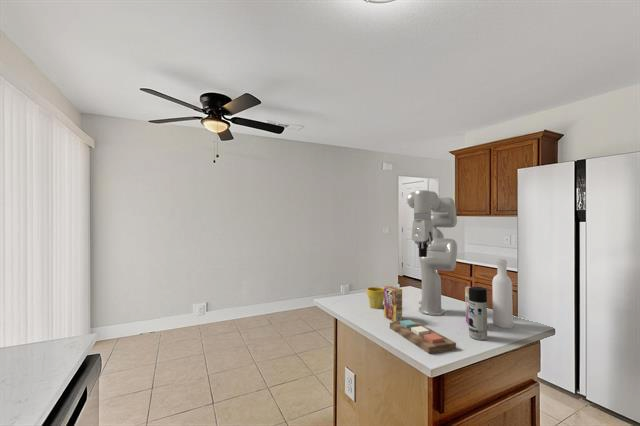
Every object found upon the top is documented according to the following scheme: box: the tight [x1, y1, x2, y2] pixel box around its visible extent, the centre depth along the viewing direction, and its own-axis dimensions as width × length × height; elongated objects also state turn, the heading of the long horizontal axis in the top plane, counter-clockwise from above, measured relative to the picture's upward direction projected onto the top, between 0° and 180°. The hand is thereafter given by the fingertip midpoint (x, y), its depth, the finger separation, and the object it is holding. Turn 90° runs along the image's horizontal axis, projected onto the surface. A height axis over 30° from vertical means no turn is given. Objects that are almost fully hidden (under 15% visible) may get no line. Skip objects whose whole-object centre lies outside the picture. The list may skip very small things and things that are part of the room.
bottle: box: [491, 258, 514, 329], centre depth 133 cm, size 8×8×30 cm
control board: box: [389, 319, 457, 355], centre depth 118 cm, size 26×12×2 cm, turn 18°
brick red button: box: [424, 333, 444, 344], centre depth 111 cm, size 5×5×3 cm
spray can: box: [468, 286, 488, 341], centre depth 119 cm, size 7×7×20 cm
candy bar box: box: [464, 286, 470, 326], centre depth 132 cm, size 11×5×16 cm, turn 163°
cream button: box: [411, 326, 429, 336], centre depth 118 cm, size 5×5×3 cm
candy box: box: [383, 285, 403, 322], centre depth 141 cm, size 9×4×15 cm, turn 26°
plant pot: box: [366, 286, 384, 309], centre depth 160 cm, size 10×10×10 cm
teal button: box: [400, 319, 417, 328], centre depth 126 cm, size 5×5×3 cm
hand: (422, 256), depth 134 cm, fingers closed
